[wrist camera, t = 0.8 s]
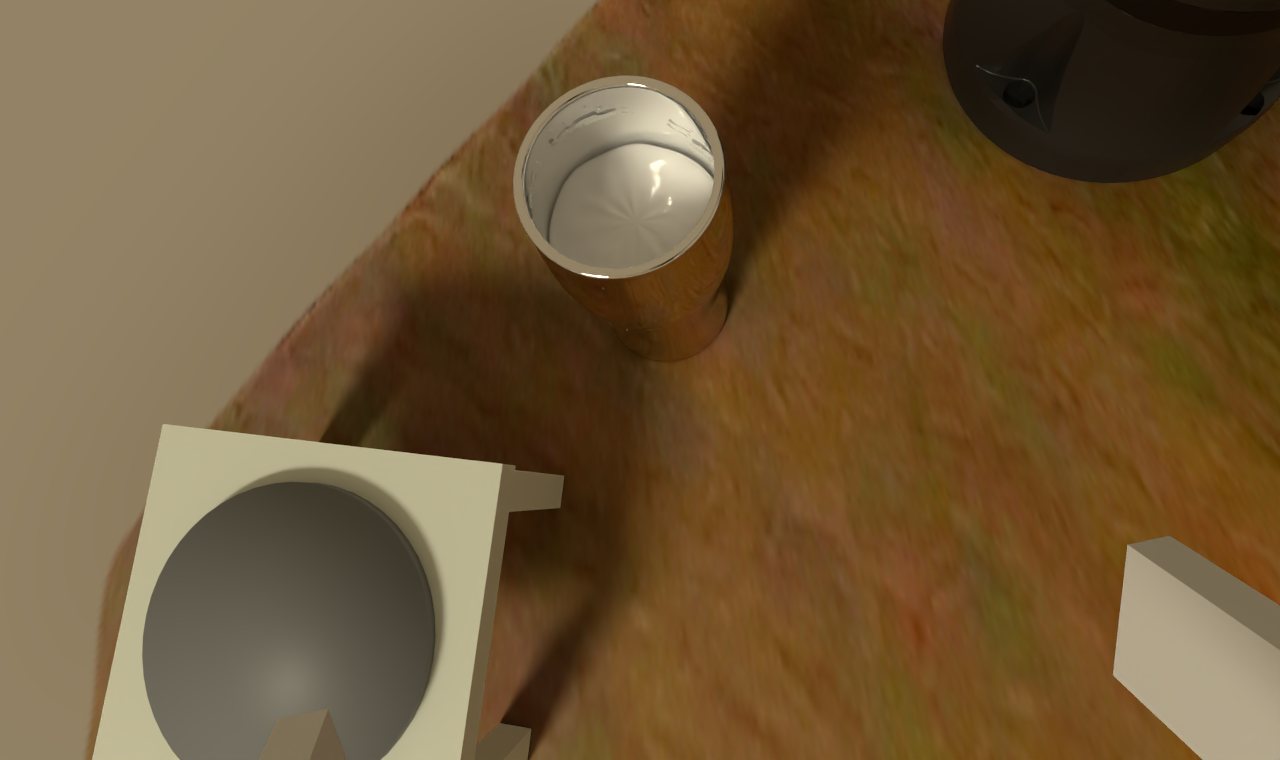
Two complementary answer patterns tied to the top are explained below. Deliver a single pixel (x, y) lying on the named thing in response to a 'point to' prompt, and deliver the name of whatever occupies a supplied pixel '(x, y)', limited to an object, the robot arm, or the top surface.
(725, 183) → the beer glass
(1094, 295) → the top surface
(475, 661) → the stool
